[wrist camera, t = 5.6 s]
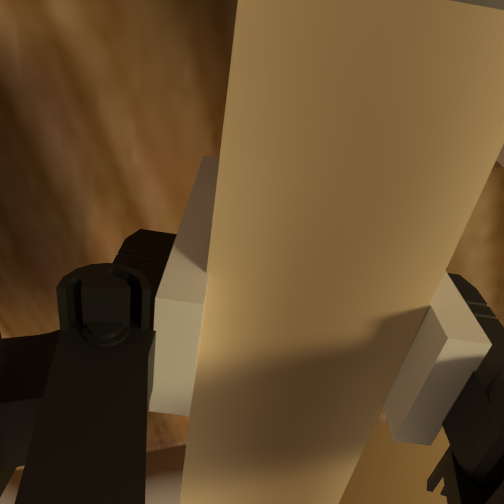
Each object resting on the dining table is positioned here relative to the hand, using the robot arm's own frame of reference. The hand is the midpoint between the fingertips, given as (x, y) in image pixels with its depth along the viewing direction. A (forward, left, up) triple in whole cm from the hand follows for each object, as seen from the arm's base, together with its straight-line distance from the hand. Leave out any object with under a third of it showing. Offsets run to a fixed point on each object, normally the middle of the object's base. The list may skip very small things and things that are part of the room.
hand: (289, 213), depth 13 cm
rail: (0, 0, 0) cm, 0 cm away
